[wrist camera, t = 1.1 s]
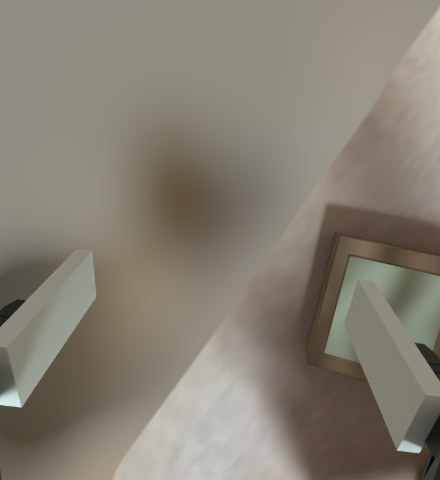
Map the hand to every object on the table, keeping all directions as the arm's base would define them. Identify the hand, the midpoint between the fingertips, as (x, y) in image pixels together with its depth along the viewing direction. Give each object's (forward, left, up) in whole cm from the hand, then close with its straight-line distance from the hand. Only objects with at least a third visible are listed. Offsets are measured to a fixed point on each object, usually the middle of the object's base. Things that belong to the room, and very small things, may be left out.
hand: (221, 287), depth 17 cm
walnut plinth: (-15, +5, -29) cm, 33 cm away
